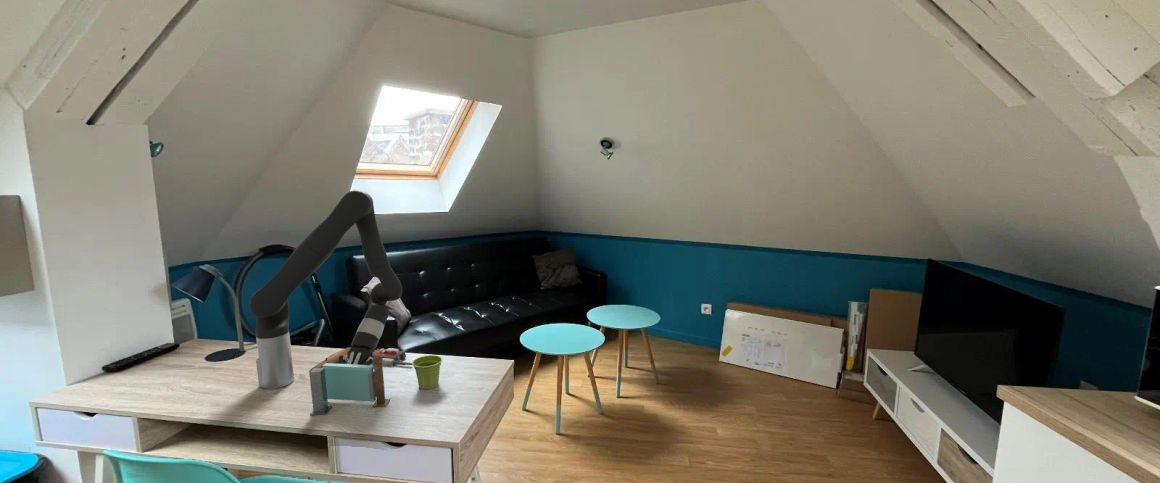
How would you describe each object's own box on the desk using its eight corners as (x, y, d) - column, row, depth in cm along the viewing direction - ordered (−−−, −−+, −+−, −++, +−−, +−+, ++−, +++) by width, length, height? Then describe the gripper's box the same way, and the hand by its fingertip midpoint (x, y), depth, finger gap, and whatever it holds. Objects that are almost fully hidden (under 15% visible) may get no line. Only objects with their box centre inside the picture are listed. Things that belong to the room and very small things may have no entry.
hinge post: (372, 407, 143) (368, 358, 140) (376, 401, 147) (372, 353, 144) (386, 407, 143) (382, 357, 141) (389, 400, 147) (386, 352, 145)
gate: (377, 399, 146) (374, 365, 144) (373, 402, 144) (370, 367, 143) (329, 396, 148) (326, 363, 147) (325, 399, 146) (322, 365, 145)
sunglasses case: (340, 352, 186) (347, 339, 184) (355, 362, 185) (362, 349, 184) (306, 372, 169) (313, 357, 167) (323, 383, 168) (330, 368, 166)
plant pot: (449, 385, 157) (447, 360, 156) (423, 395, 151) (421, 369, 149) (434, 376, 164) (432, 352, 162) (408, 386, 157) (406, 361, 156)
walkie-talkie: (362, 364, 176) (410, 369, 171) (361, 352, 175) (409, 357, 171) (378, 355, 185) (424, 359, 180) (377, 344, 184) (423, 348, 179)
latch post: (310, 415, 139) (305, 373, 137) (316, 408, 143) (312, 367, 141) (325, 414, 139) (321, 372, 137) (331, 407, 144) (327, 366, 141)
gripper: (344, 329, 155) (320, 381, 146) (379, 332, 152) (357, 385, 143) (357, 338, 161) (334, 389, 152) (391, 341, 158) (370, 393, 149)
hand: (345, 387), depth 147 cm, fingers closed
